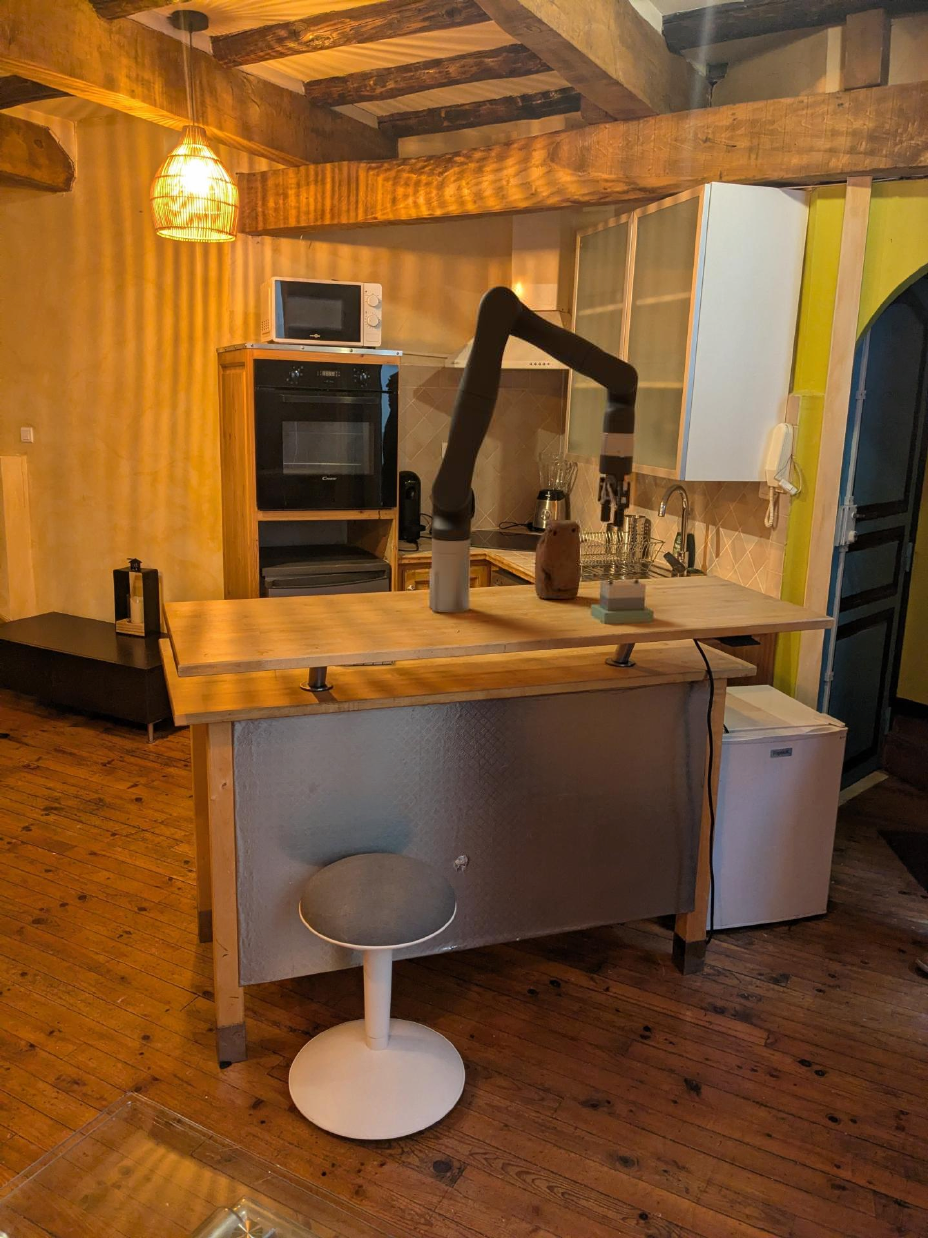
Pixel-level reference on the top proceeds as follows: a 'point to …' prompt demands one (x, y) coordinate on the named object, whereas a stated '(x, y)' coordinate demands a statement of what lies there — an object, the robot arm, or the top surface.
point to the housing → (622, 595)
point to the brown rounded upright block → (558, 560)
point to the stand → (622, 615)
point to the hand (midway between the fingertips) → (611, 524)
